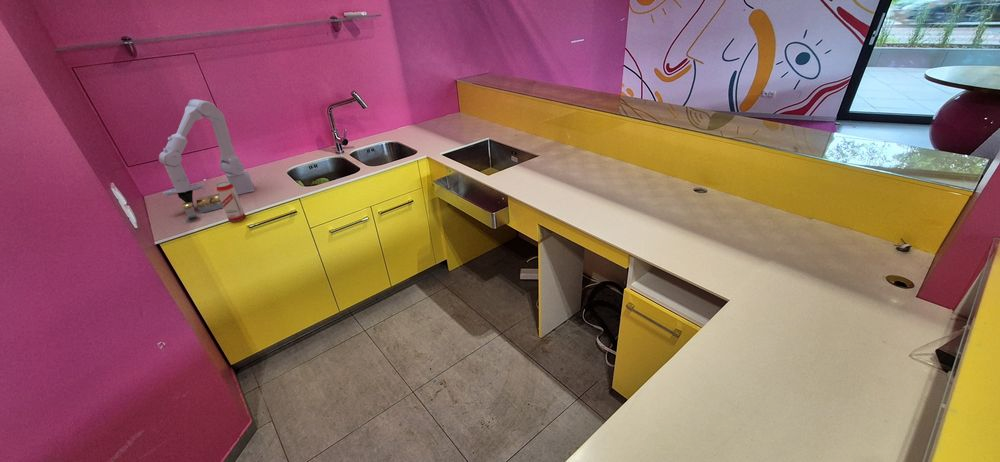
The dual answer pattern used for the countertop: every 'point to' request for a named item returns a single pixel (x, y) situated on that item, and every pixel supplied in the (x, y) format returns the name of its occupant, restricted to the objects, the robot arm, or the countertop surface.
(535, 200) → the countertop surface
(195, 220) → the pad
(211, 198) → the fixed leaf
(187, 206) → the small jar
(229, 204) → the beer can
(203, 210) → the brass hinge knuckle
